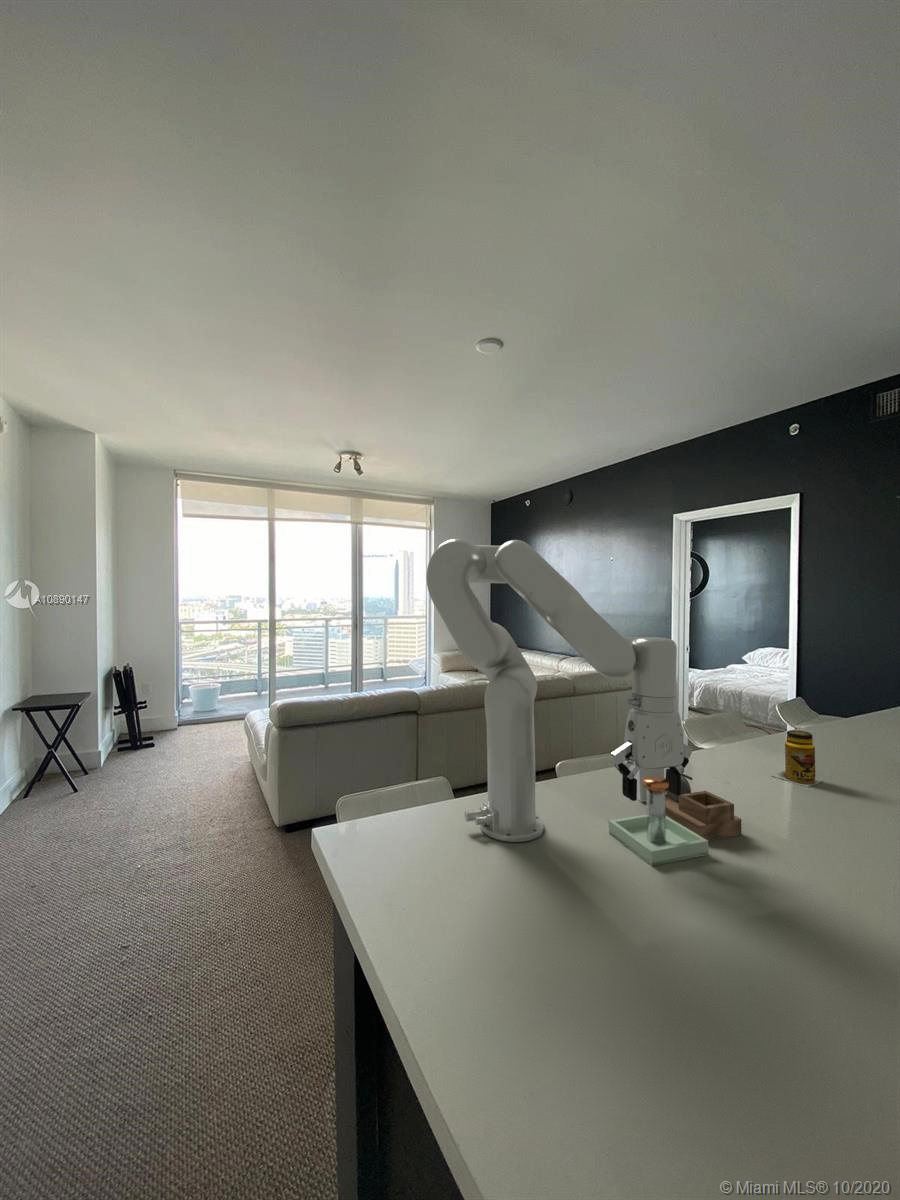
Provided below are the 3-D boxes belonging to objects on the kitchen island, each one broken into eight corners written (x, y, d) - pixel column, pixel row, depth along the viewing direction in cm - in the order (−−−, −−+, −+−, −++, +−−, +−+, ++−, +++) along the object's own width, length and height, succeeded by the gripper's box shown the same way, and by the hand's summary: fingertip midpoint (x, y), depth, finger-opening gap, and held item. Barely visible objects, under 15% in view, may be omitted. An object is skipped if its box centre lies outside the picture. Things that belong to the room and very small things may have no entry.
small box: (665, 802, 105) (664, 755, 105) (639, 802, 105) (639, 755, 106) (650, 788, 113) (649, 745, 113) (627, 788, 113) (626, 745, 114)
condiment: (808, 787, 113) (807, 737, 113) (770, 776, 121) (769, 729, 121) (823, 781, 117) (822, 733, 117) (786, 771, 124) (785, 725, 124)
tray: (651, 866, 80) (651, 851, 80) (609, 833, 92) (608, 820, 92) (708, 855, 83) (708, 840, 83) (660, 824, 95) (660, 812, 95)
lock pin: (655, 848, 85) (654, 785, 85) (638, 836, 89) (637, 777, 89) (675, 844, 86) (674, 783, 86) (658, 833, 90) (657, 774, 90)
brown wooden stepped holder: (699, 842, 88) (699, 797, 88) (648, 810, 101) (647, 772, 101) (741, 834, 91) (740, 791, 91) (686, 804, 104) (685, 767, 104)
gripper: (626, 710, 82) (624, 808, 82) (706, 706, 87) (705, 798, 87) (601, 701, 89) (599, 791, 89) (676, 697, 94) (674, 783, 94)
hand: (651, 795), depth 88 cm, fingers open, 9 cm apart
